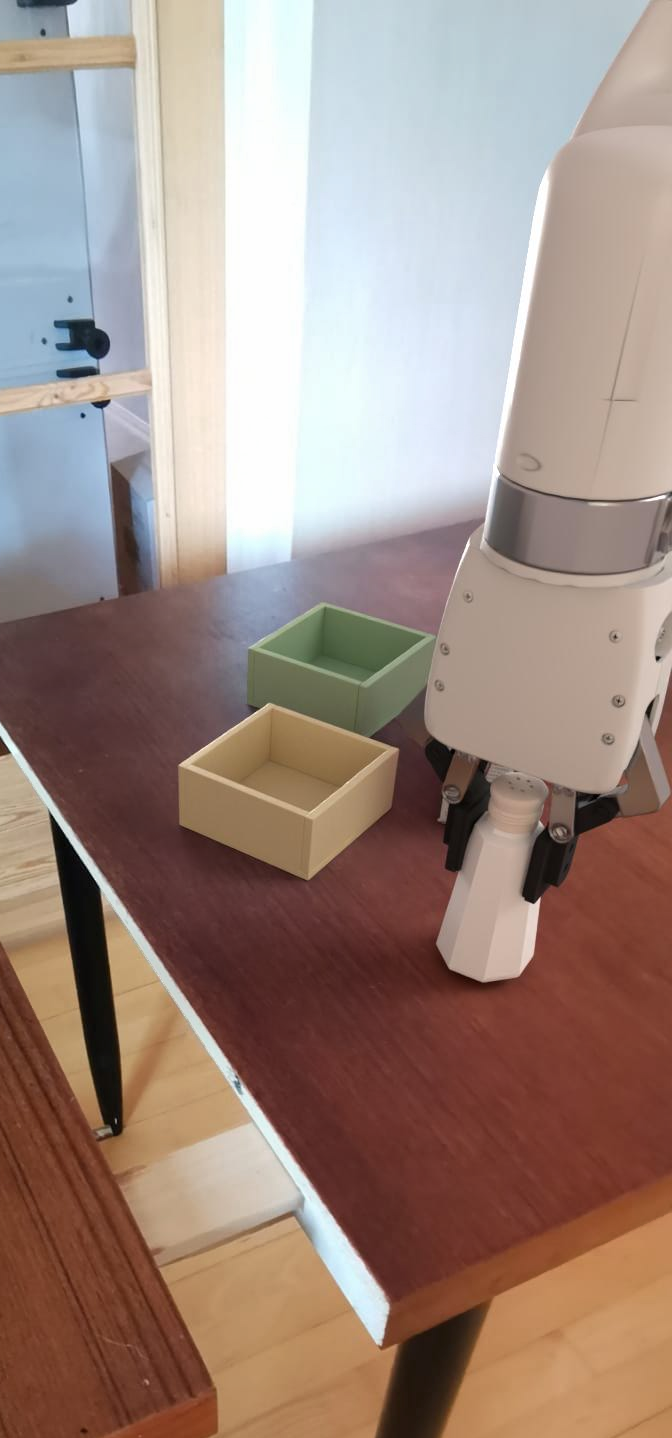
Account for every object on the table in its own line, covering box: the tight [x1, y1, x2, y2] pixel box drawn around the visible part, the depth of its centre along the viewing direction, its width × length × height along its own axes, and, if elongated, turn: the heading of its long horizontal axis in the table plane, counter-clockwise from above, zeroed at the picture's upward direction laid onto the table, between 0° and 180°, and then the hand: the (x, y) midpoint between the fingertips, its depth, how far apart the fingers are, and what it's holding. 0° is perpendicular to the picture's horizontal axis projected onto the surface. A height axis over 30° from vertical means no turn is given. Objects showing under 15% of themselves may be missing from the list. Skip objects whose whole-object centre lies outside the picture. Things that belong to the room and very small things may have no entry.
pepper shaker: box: [435, 772, 550, 983], centre depth 58 cm, size 5×5×11 cm
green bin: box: [246, 601, 438, 738], centre depth 83 cm, size 10×10×4 cm
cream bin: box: [177, 703, 400, 881], centre depth 71 cm, size 10×10×4 cm
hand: (501, 870), depth 58 cm, fingers closed on pepper shaker, 3 cm apart
